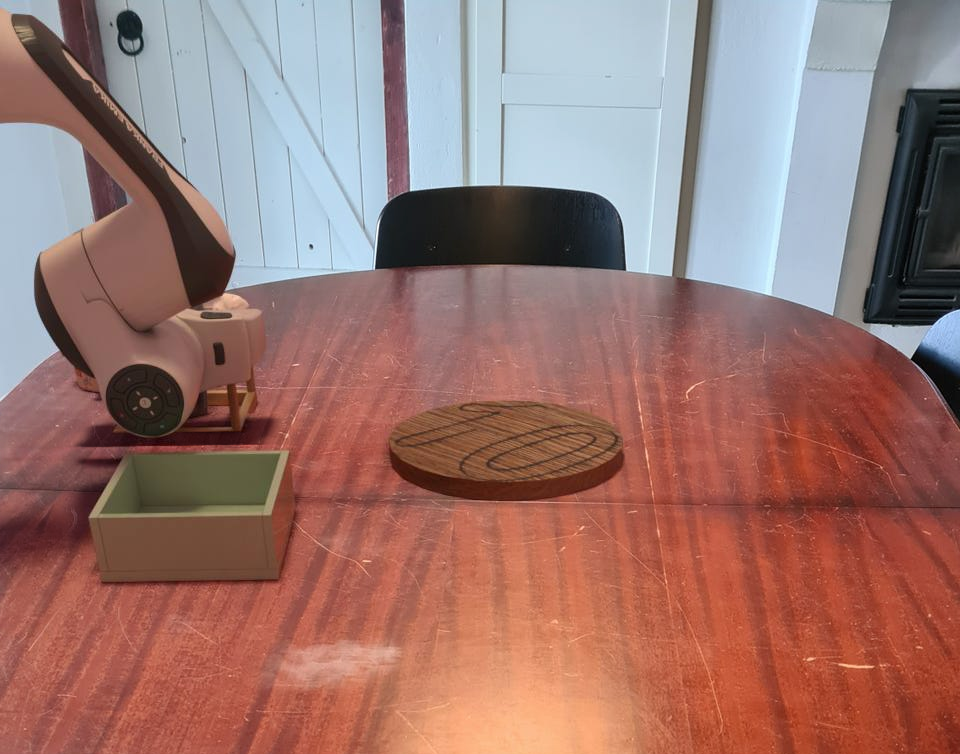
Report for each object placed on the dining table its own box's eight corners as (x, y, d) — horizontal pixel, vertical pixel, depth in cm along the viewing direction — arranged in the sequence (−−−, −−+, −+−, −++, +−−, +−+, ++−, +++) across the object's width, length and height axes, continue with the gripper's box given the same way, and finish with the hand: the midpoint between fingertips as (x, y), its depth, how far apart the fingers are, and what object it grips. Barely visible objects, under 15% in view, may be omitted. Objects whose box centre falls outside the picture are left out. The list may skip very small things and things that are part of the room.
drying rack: (115, 445, 136) (103, 380, 132) (140, 403, 147) (129, 342, 143) (242, 443, 136) (234, 378, 132) (257, 402, 147) (250, 341, 143)
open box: (101, 582, 109) (87, 517, 105) (136, 512, 121) (125, 452, 117) (278, 579, 109) (271, 514, 105) (295, 510, 121) (289, 450, 118)
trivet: (341, 456, 133) (340, 439, 132) (502, 402, 147) (502, 386, 146) (509, 521, 119) (509, 502, 118) (669, 454, 133) (671, 436, 132)
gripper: (63, 388, 126) (82, 349, 137) (265, 380, 128) (268, 343, 138) (49, 323, 122) (71, 288, 133) (258, 316, 124) (262, 282, 135)
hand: (173, 316), depth 136 cm, fingers closed on beverage cup, 7 cm apart
